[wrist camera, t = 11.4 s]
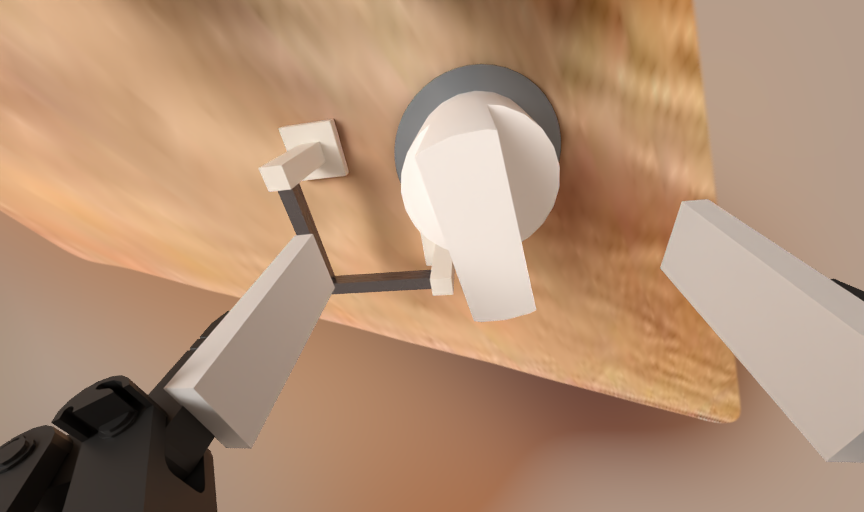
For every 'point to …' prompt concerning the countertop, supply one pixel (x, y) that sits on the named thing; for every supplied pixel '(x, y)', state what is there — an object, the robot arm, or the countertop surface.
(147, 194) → the countertop surface
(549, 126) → the coaster
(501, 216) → the base with upright slab
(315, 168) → the wire posts
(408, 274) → the bent wire
